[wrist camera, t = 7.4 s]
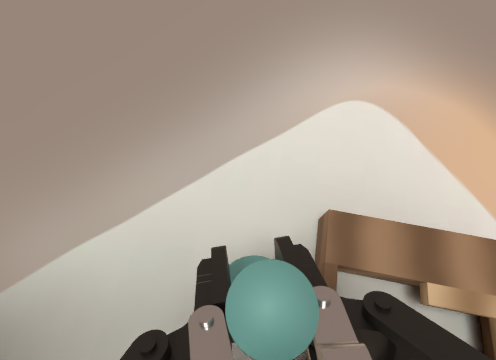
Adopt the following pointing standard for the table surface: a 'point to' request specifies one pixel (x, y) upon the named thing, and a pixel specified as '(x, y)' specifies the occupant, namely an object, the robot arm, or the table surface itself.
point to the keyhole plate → (414, 263)
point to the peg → (270, 308)
